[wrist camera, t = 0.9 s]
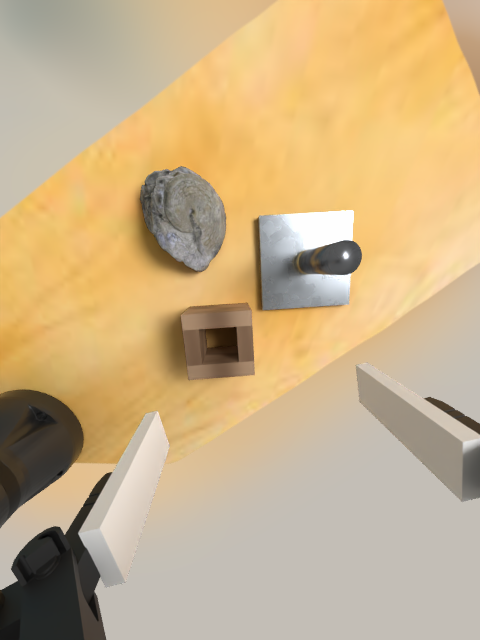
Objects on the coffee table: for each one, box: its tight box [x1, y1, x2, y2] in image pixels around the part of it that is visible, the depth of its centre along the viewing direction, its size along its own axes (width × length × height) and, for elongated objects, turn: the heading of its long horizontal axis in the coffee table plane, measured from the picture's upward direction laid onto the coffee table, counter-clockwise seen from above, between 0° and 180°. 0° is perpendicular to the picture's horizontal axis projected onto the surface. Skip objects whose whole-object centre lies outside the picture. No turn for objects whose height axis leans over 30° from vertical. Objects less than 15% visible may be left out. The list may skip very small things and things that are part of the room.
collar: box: [181, 303, 255, 380], centre depth 29 cm, size 8×8×6 cm
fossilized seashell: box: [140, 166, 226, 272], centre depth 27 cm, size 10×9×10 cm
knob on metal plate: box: [258, 211, 362, 310], centre depth 25 cm, size 12×12×11 cm
